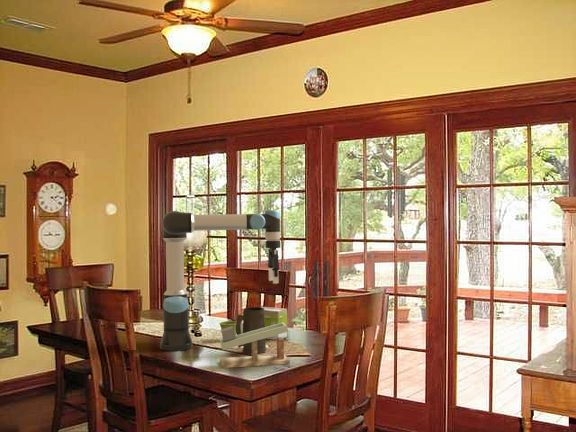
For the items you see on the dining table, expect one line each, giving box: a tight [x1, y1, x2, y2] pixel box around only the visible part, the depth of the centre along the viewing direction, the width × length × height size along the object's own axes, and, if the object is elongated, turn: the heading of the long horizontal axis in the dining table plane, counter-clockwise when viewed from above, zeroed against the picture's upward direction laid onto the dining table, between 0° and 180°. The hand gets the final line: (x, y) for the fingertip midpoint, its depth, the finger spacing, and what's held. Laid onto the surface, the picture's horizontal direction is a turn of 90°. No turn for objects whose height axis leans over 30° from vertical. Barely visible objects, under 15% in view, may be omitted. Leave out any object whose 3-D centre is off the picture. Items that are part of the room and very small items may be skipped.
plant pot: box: [219, 320, 237, 335], centre depth 308 cm, size 9×9×9 cm
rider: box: [220, 326, 236, 342], centre depth 257 cm, size 5×5×6 cm
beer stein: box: [236, 306, 267, 354], centre depth 279 cm, size 15×11×20 cm
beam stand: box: [219, 337, 291, 369], centre depth 259 cm, size 28×11×10 cm, turn 101°
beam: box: [219, 322, 289, 351], centre depth 259 cm, size 28×8×3 cm, turn 100°
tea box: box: [260, 306, 288, 341], centre depth 313 cm, size 15×10×15 cm, turn 62°
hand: (273, 282), depth 314 cm, fingers open, 13 cm apart
